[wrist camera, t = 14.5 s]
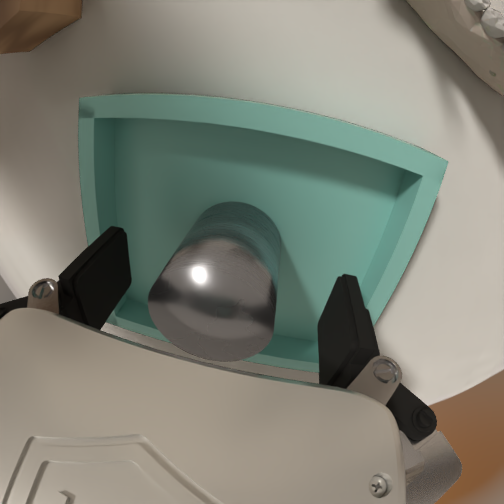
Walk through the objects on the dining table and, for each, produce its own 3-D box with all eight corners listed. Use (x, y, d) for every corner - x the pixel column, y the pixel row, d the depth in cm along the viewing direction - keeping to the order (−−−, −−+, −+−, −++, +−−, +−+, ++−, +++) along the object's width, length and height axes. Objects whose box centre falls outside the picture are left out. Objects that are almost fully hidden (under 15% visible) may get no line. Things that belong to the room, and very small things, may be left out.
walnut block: (30, 51, 9) (-27, 58, 5) (34, -3, 7) (-18, -5, 2) (82, 17, 9) (19, 10, 4) (86, -39, 6) (33, -55, 2)
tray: (120, 299, 19) (105, 322, 16) (108, 94, 11) (79, 97, 9) (338, 347, 18) (340, 375, 16) (424, 149, 11) (448, 161, 9)
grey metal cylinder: (190, 270, 15) (153, 344, 11) (195, 193, 13) (142, 254, 8) (271, 288, 15) (260, 370, 11) (290, 212, 13) (288, 285, 8)
